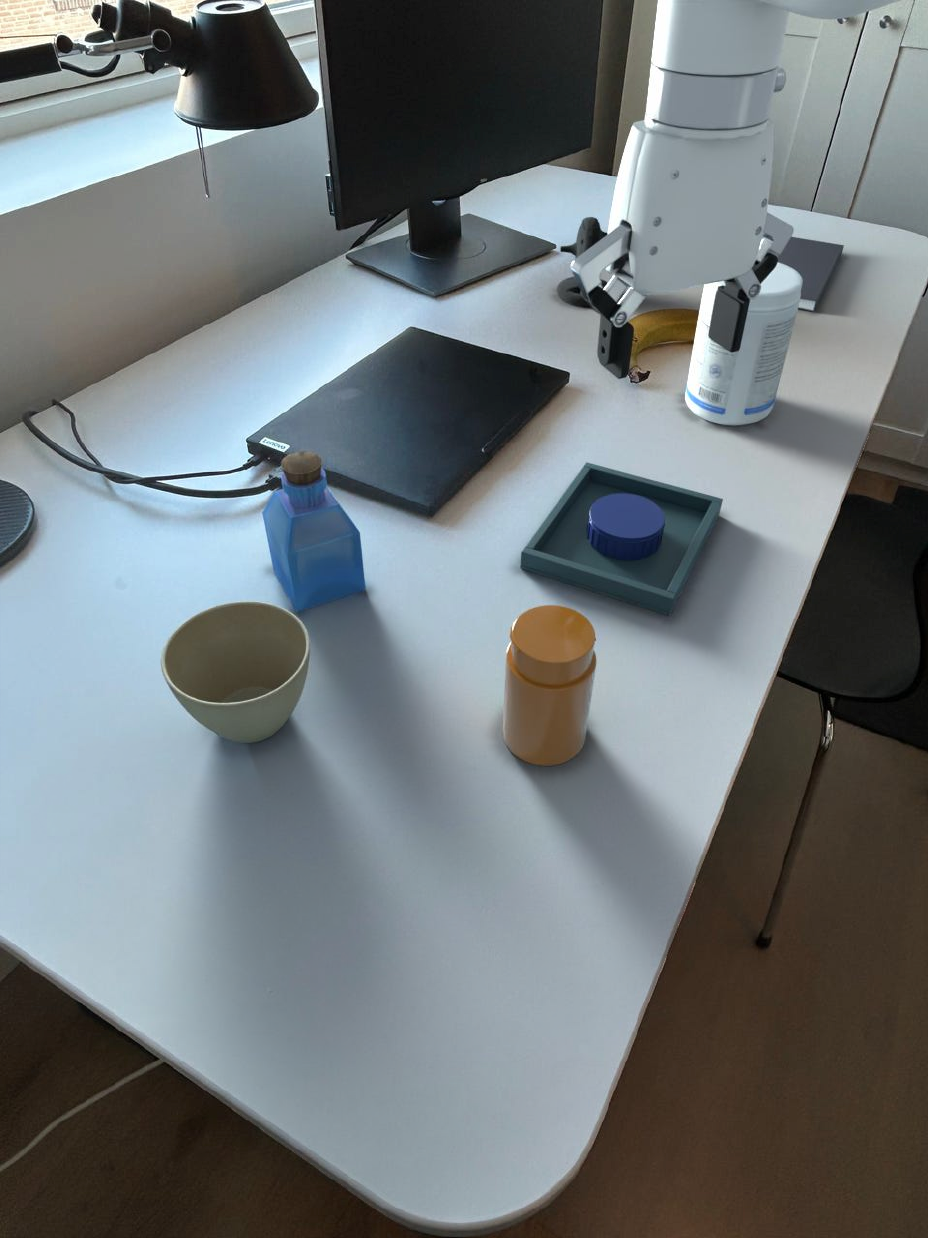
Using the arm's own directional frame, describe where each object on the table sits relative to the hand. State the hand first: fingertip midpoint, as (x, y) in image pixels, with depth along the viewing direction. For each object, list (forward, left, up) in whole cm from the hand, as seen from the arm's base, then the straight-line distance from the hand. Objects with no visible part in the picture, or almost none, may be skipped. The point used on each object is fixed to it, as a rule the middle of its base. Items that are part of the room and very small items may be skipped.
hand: (669, 357), depth 66 cm
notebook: (-52, -45, -19) cm, 71 cm away
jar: (+17, +15, -19) cm, 29 cm away
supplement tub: (-23, -18, -19) cm, 35 cm away
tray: (0, -2, -19) cm, 19 cm away
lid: (0, -2, -16) cm, 17 cm away
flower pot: (+36, +5, -19) cm, 41 cm away
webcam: (-23, -50, -19) cm, 58 cm away
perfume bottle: (+27, -8, -19) cm, 34 cm away
